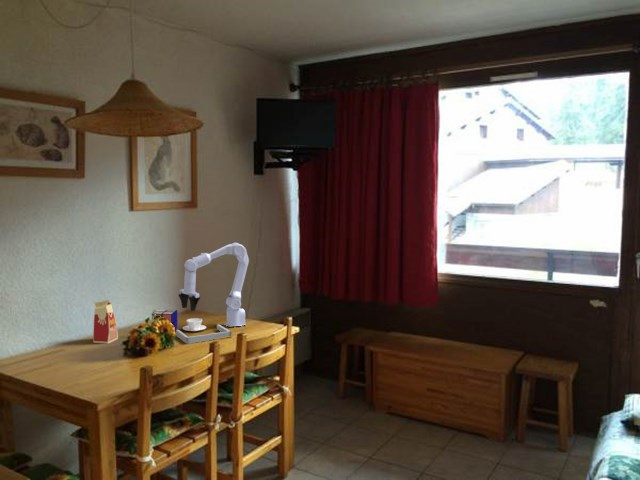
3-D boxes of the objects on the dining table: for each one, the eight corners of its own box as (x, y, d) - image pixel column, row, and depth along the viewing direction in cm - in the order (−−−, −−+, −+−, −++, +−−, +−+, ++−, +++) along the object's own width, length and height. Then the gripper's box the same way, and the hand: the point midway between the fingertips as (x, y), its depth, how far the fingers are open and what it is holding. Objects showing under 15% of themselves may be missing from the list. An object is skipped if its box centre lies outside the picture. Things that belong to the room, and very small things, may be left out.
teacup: (184, 334, 269) (184, 323, 269) (180, 328, 280) (180, 318, 280) (208, 332, 274) (208, 321, 273) (204, 326, 285) (204, 316, 284)
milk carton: (118, 338, 260) (117, 297, 258) (109, 343, 251) (108, 301, 249) (100, 337, 261) (99, 296, 259) (90, 342, 252) (89, 300, 250)
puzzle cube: (172, 333, 270) (171, 313, 269) (152, 333, 270) (151, 313, 269) (177, 328, 280) (177, 309, 279) (158, 328, 280) (158, 309, 279)
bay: (219, 330, 277) (219, 324, 277) (231, 337, 264) (231, 331, 263) (176, 335, 266) (176, 329, 265) (186, 344, 252) (186, 337, 252)
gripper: (175, 281, 278) (174, 307, 279) (191, 285, 268) (190, 312, 269) (187, 280, 283) (185, 306, 284) (203, 284, 273) (201, 311, 274)
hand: (188, 309), depth 277 cm, fingers open, 7 cm apart
